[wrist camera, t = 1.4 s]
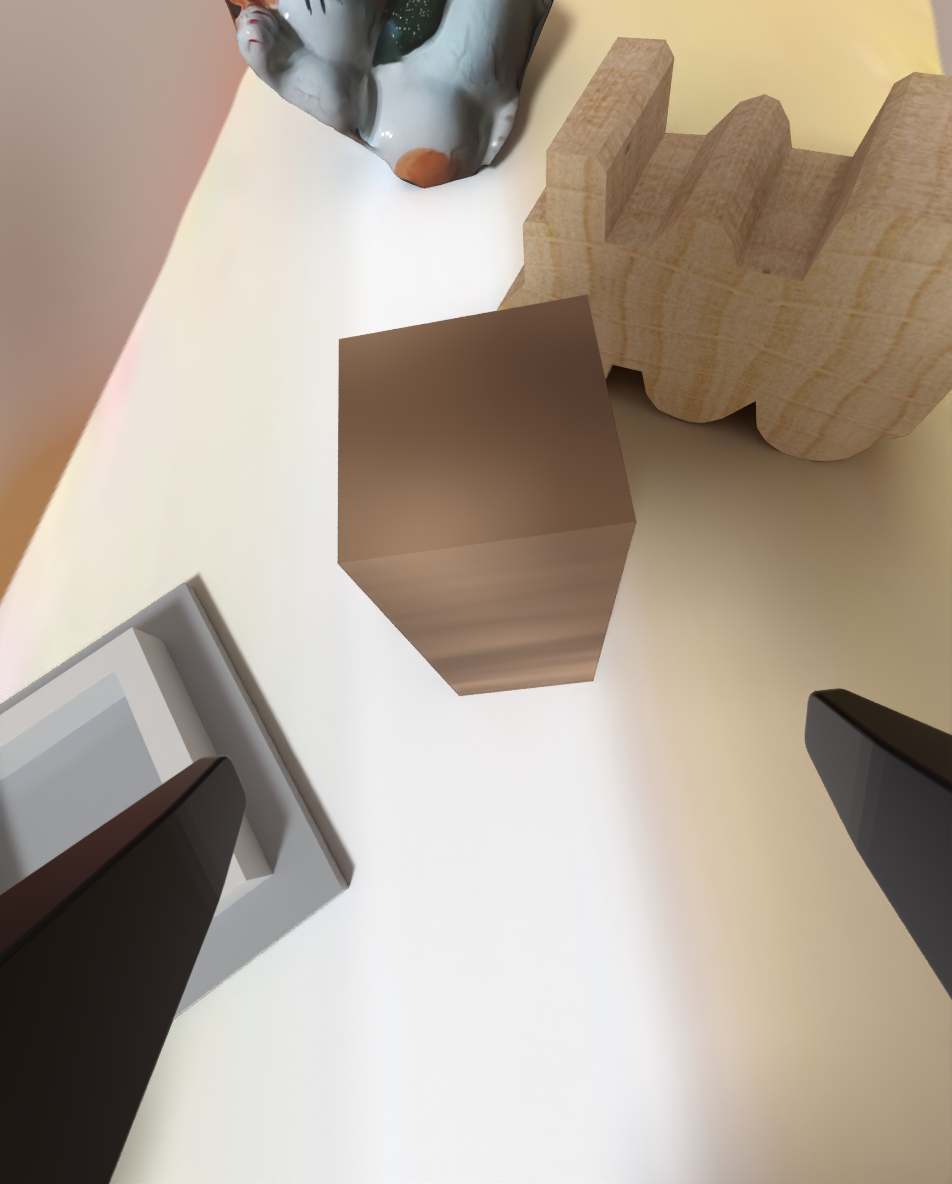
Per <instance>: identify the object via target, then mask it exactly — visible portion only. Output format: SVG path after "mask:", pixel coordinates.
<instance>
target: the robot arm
mask: <svg viewBox="0 0 952 1184" xmlns="http://www.w3.org/2000/svg"><path fill="white" fill-rule="evenodd" d="M805 744H806V748H807V751H808V753H809V755H810V757H811V760H812V762H813V764H814V766H815V768H816V770H817V772H818V774H819V776H820V778H821V780H822V782H823V784H824V786H825V788H826V790H827V792H828V794H829V796H830V798H831V800H832V802H833V804H834V806H835V808H836V810H837V812H838V814H839V816H840V818H841V820H842V822H843V824H844V826H845V828H846V830H847V832H848V834H849V836H850V838H851V840H852V841H853V843H854V845H855V847H856V849H857V851H858V852H859V854H860V856H861V857H862V859H863V861H864V862H865V864H866V866H867V867H868V869H869V870H870V872H871V873H872V875H873V877H874V878H875V880H876V881H877V883H878V884H879V886H880V888H881V889H882V891H883V892H884V894H885V895H886V897H887V899H888V900H889V902H890V903H891V905H892V906H893V908H894V910H895V911H896V913H897V914H898V916H899V917H900V919H901V921H902V922H903V924H904V925H905V927H906V929H907V930H908V932H909V933H910V935H911V936H912V938H913V940H914V941H915V943H916V944H917V946H918V947H919V949H920V951H921V952H922V954H923V955H924V957H925V958H926V960H927V962H928V963H929V965H930V966H931V968H932V969H933V971H934V973H935V974H936V976H937V977H938V979H939V980H940V982H941V984H942V985H943V987H944V988H945V990H946V991H947V993H948V995H949V996H950V998H951V999H952V735H950V734H948V733H946V732H943V731H941V730H939V729H936V728H934V727H932V726H929V725H927V724H925V723H922V722H920V721H918V720H915V719H913V718H910V717H908V716H906V715H903V714H901V713H899V712H896V711H894V710H892V709H889V708H887V707H885V706H882V705H880V704H878V703H875V702H873V701H871V700H868V699H866V698H864V697H861V696H859V695H857V694H854V693H852V692H850V691H847V690H845V689H839V688H838V689H828V690H819V691H814V692H813V693H811V694H810V696H809V699H808V706H807V716H806V727H805ZM246 804H247V797H246V792H245V790H244V787H243V785H242V782H241V780H240V778H239V775H238V773H237V771H236V768H235V766H234V764H233V762H232V760H231V759H230V758H229V757H228V756H226V755H217V756H207V757H202V758H200V759H198V760H197V761H195V762H194V763H192V764H191V765H189V766H188V767H186V768H185V769H184V770H182V771H181V772H179V773H178V774H176V775H175V776H173V777H172V778H170V779H169V780H167V781H166V782H164V783H163V784H162V785H160V786H159V787H157V788H156V789H154V790H153V791H151V792H150V793H148V794H147V795H145V796H144V797H143V798H141V799H140V800H138V801H137V802H135V803H134V804H132V805H131V806H129V807H128V808H126V809H125V810H124V811H122V812H121V813H119V814H118V815H116V816H115V817H113V818H112V819H110V820H109V821H107V822H106V823H105V824H103V825H102V826H100V827H99V828H97V829H96V830H94V831H93V832H91V833H90V834H88V835H87V836H86V837H84V838H83V839H81V840H80V841H78V842H77V843H75V844H74V845H72V846H71V847H69V848H68V849H67V850H65V851H64V852H62V853H61V854H59V855H58V856H56V857H55V858H53V859H52V860H50V861H49V862H48V863H46V864H45V865H43V866H42V867H40V868H39V869H37V870H36V871H34V872H33V873H31V874H30V875H29V876H27V877H26V878H24V879H23V880H21V881H20V882H18V883H17V884H15V885H14V886H12V887H11V888H10V889H8V890H7V891H5V892H4V893H2V894H1V895H0V1184H110V1181H111V1178H112V1176H113V1173H114V1171H115V1168H116V1166H117V1163H118V1161H119V1158H120V1155H121V1153H122V1150H123V1148H124V1145H125V1143H126V1140H127V1137H128V1135H129V1132H130V1130H131V1127H132V1125H133V1122H134V1119H135V1117H136V1114H137V1112H138V1109H139V1107H140V1104H141V1102H142V1099H143V1096H144V1094H145V1091H146V1089H147V1086H148V1084H149V1081H150V1078H151V1076H152V1073H153V1071H154V1068H155V1066H156V1063H157V1061H158V1058H159V1055H160V1053H161V1050H162V1048H163V1045H164V1043H165V1040H166V1037H167V1035H168V1032H169V1030H170V1027H171V1025H172V1022H173V1019H174V1017H175V1014H176V1012H177V1009H178V1007H179V1004H180V1002H181V999H182V996H183V994H184V991H185V989H186V986H187V984H188V981H189V978H190V976H191V973H192V971H193V968H194V966H195V963H196V961H197V958H198V955H199V953H200V950H201V948H202V945H203V943H204V940H205V937H206V935H207V932H208V930H209V927H210V925H211V922H212V919H213V917H214V914H215V911H216V909H217V906H218V903H219V900H220V897H221V894H222V891H223V888H224V885H225V881H226V877H227V874H228V870H229V867H230V863H231V860H232V856H233V853H234V849H235V846H236V842H237V839H238V835H239V831H240V828H241V824H242V821H243V817H244V814H245V810H246Z"/></svg>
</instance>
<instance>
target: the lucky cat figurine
mask: <svg viewBox="0 0 952 1184" xmlns="http://www.w3.org/2000/svg"><path fill="white" fill-rule="evenodd" d="M553 1H554V0H225V2H226V4H227V6H228V8H229V11H230V14H231V16H232V19H233V22H234V25H235V28H236V31H237V41H238V47H239V50H240V54H241V55H242V56H243V58H244V59H245V61H246V62H247V64H248V65H249V66H250V67H251V68H252V69H253V71H254V72H255V73H256V75H257V76H258V77H259V78H260V79H261V80H262V81H264V82H265V83H266V84H267V85H269V86H270V87H271V88H272V89H274V90H275V91H276V92H277V93H278V94H279V95H280V96H281V97H282V98H283V99H285V100H286V101H288V102H289V103H291V104H293V105H295V106H297V107H298V108H300V109H302V110H303V111H305V112H307V113H308V114H310V115H312V116H313V117H315V118H317V119H318V120H319V121H321V122H322V123H324V124H326V125H328V126H331V127H333V128H334V129H335V130H336V131H338V132H340V133H342V134H344V135H346V136H348V137H349V138H351V139H353V140H355V141H356V142H358V143H360V144H361V145H363V146H364V147H366V148H367V149H369V150H371V151H372V152H374V153H375V154H377V155H378V156H379V157H380V158H382V159H383V160H385V161H386V162H387V164H388V165H389V167H390V168H391V170H392V171H393V173H394V174H395V175H396V176H397V177H399V178H400V179H402V180H403V181H406V182H408V183H411V184H413V185H416V186H419V187H422V188H426V187H430V186H436V185H441V184H444V183H448V182H451V181H454V180H459V179H463V178H467V177H470V176H473V175H475V173H476V172H477V171H478V169H479V168H480V167H481V166H482V165H486V164H487V165H490V163H491V162H492V160H493V159H494V157H495V156H496V154H497V153H498V151H499V150H500V148H501V147H502V145H503V144H504V142H505V141H506V139H507V137H508V136H509V134H510V132H511V130H512V128H513V126H514V122H515V115H516V111H518V102H519V93H520V88H521V84H522V81H523V77H524V74H525V70H526V68H527V65H528V63H529V60H530V58H531V55H532V53H533V50H534V48H535V45H536V43H537V40H538V38H539V35H540V33H541V31H542V28H543V26H544V23H545V21H546V18H547V16H548V13H549V11H550V9H551V6H552V4H553Z"/></svg>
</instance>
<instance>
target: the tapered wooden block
mask: <svg viewBox="0 0 952 1184" xmlns="http://www.w3.org/2000/svg"><path fill="white" fill-rule="evenodd" d="M635 524H636V519H635V514H634V510H633V505H632V500H631V496H630V491H629V486H628V482H627V477H626V473H625V468H624V463H623V459H622V454H621V449H620V445H619V440H618V435H617V431H616V426H615V421H614V417H613V412H612V407H611V403H610V398H609V394H608V389H607V384H606V380H605V375H604V370H603V366H602V361H601V356H600V352H599V347H598V342H597V338H596V333H595V328H594V324H593V319H592V315H591V310H590V305H589V301H588V296H587V295H582V296H577V297H571V298H566V299H560V300H554V301H549V302H543V303H538V304H532V305H527V306H521V307H516V308H510V309H504V310H499V311H493V312H488V313H482V314H477V315H471V316H465V317H460V318H454V319H449V320H443V321H438V322H432V323H427V324H421V325H415V326H410V327H404V328H399V329H393V330H388V331H382V332H377V333H371V334H365V335H360V336H354V337H349V338H343V339H339V411H338V564H339V565H340V567H341V568H342V569H343V570H344V571H345V572H346V573H347V574H348V575H349V576H350V577H351V579H352V580H353V581H354V582H355V583H356V584H357V585H358V586H359V587H360V588H361V589H362V591H363V592H364V593H365V594H366V595H367V596H368V597H369V598H370V599H371V600H372V601H373V603H374V604H375V605H376V606H377V607H378V608H379V609H380V610H381V611H382V612H383V613H384V615H385V616H386V617H387V618H388V619H389V620H390V621H391V622H392V623H393V624H394V625H395V627H396V628H397V629H398V630H399V631H400V632H401V633H402V634H403V635H404V636H405V637H406V639H407V640H408V641H409V642H410V643H411V644H412V645H413V646H414V647H415V648H416V649H417V651H418V652H419V653H420V654H421V655H422V656H423V657H424V658H425V659H426V660H427V661H428V663H429V664H430V665H431V666H432V667H433V668H434V669H435V670H436V671H437V672H438V673H439V675H440V676H441V677H442V678H443V679H444V680H445V681H446V682H447V683H448V684H449V685H450V686H451V688H452V689H453V690H454V691H455V692H456V693H457V694H458V695H459V696H464V695H473V694H482V693H491V692H500V691H509V690H517V689H526V688H535V687H544V686H553V685H562V684H570V683H579V682H588V681H593V679H594V676H595V672H596V668H597V664H598V661H599V657H600V653H601V650H602V646H603V642H604V639H605V635H606V631H607V628H608V624H609V620H610V616H611V613H612V609H613V605H614V602H615V598H616V594H617V591H618V587H619V583H620V580H621V576H622V572H623V568H624V565H625V561H626V557H627V554H628V550H629V546H630V543H631V539H632V535H633V532H634V528H635Z"/></svg>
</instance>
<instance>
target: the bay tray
mask: <svg viewBox="0 0 952 1184" xmlns="http://www.w3.org/2000/svg"><path fill="white" fill-rule="evenodd" d="M217 755H226V756H228V757H229V758H230V759H231V760H232V762H233V764H234V766H235V768H236V771H237V773H238V775H239V778H240V780H241V782H242V785H243V787H244V790H245V792H246V797H247V804H246V810H245V814H244V817H243V821H242V824H241V828H240V831H239V835H238V839H237V842H236V846H235V849H234V853H233V856H232V860H231V863H230V867H229V870H228V874H227V877H226V881H225V885H224V888H223V891H222V894H221V897H220V900H219V903H218V906H217V909H216V911H215V914H214V917H213V919H212V922H211V925H210V927H209V930H208V932H207V935H206V937H205V940H204V943H203V945H202V948H201V950H200V953H199V955H198V958H197V961H196V963H195V966H194V968H193V971H192V973H191V976H190V978H189V981H188V984H187V986H186V989H185V991H184V994H183V996H182V999H181V1002H180V1004H179V1007H178V1009H177V1012H176V1014H175V1017H174V1019H175V1018H176V1017H178V1016H179V1015H180V1014H182V1013H183V1012H184V1011H186V1010H187V1009H188V1008H190V1007H191V1006H192V1005H194V1004H195V1003H196V1002H198V1001H199V1000H200V999H202V998H203V997H204V996H206V995H207V994H208V993H210V992H211V991H212V990H214V989H215V988H216V987H218V986H219V985H220V984H222V983H223V982H224V981H226V980H227V979H228V978H230V977H231V976H232V975H234V974H235V973H236V972H238V971H239V970H240V969H242V968H243V967H244V966H246V965H247V964H248V963H250V962H251V961H252V960H253V959H255V958H256V957H257V956H259V955H260V954H261V953H263V952H264V951H265V950H267V949H268V948H269V947H271V946H272V945H273V944H275V943H276V942H277V941H279V940H280V939H281V938H283V937H284V936H285V935H287V934H288V933H289V932H291V931H292V930H293V929H295V928H296V927H297V926H299V925H300V924H301V923H303V922H304V921H305V920H307V919H308V918H309V917H311V916H312V915H313V914H315V913H316V912H317V911H319V910H320V909H321V908H323V907H324V906H325V905H327V904H328V903H329V902H331V901H332V900H333V899H335V898H336V897H337V896H339V895H340V894H341V893H343V892H344V891H345V890H347V889H348V888H349V887H348V885H347V883H346V881H345V879H344V877H343V876H342V874H341V872H340V870H339V868H338V866H337V864H336V862H335V860H334V858H333V856H332V854H331V852H330V851H329V849H328V847H327V845H326V843H325V841H324V839H323V837H322V835H321V833H320V831H319V829H318V827H317V826H316V824H315V822H314V820H313V818H312V816H311V814H310V812H309V810H308V808H307V806H306V804H305V802H304V801H303V799H302V797H301V795H300V793H299V791H298V789H297V787H296V785H295V783H294V781H293V779H292V778H291V776H290V774H289V772H288V770H287V768H286V766H285V764H284V762H283V760H282V758H281V756H280V754H279V753H278V751H277V749H276V747H275V745H274V743H273V741H272V739H271V737H270V735H269V733H268V731H267V729H266V728H265V726H264V724H263V722H262V720H261V718H260V716H259V714H258V712H257V710H256V708H255V706H254V705H253V703H252V701H251V699H250V697H249V695H248V693H247V691H246V689H245V687H244V685H243V683H242V681H241V680H240V678H239V676H238V674H237V672H236V670H235V668H234V666H233V664H232V662H231V660H230V658H229V656H228V655H227V653H226V651H225V649H224V647H223V645H222V643H221V641H220V639H219V637H218V635H217V633H216V631H215V630H214V628H213V626H212V624H211V622H210V620H209V618H208V616H207V614H206V612H205V610H204V608H203V607H202V605H201V603H200V601H199V599H198V597H197V595H196V593H195V591H194V589H193V588H192V587H190V586H189V585H187V584H185V583H183V584H182V585H180V586H179V587H177V588H176V589H174V590H173V591H171V592H170V593H168V594H167V595H165V596H164V597H162V598H161V599H159V600H158V601H156V602H155V603H153V604H152V605H150V606H149V607H147V608H146V609H144V610H143V611H141V612H140V613H138V614H137V615H135V616H134V617H132V618H131V619H129V620H128V621H126V622H124V623H123V624H121V625H120V626H118V627H117V628H115V629H114V630H112V631H111V632H109V633H108V634H106V635H105V636H103V637H102V638H100V639H99V640H97V641H96V642H94V643H93V644H91V645H90V646H88V647H87V648H85V649H84V650H82V651H81V652H79V653H78V654H76V655H75V656H73V657H72V658H70V659H69V660H67V661H66V662H64V663H63V664H61V665H60V666H58V667H57V668H55V669H54V670H52V671H51V672H49V673H48V674H46V675H45V676H43V677H42V678H40V679H39V680H37V681H36V682H34V683H33V684H31V685H30V686H28V687H27V688H25V689H24V690H22V691H21V692H19V693H18V694H16V695H15V696H13V697H12V698H10V699H9V700H7V701H6V702H4V703H3V704H1V705H0V895H1V894H2V893H4V892H5V891H7V890H8V889H10V888H11V887H12V886H14V885H15V884H17V883H18V882H20V881H21V880H23V879H24V878H26V877H27V876H29V875H30V874H31V873H33V872H34V871H36V870H37V869H39V868H40V867H42V866H43V865H45V864H46V863H48V862H49V861H50V860H52V859H53V858H55V857H56V856H58V855H59V854H61V853H62V852H64V851H65V850H67V849H68V848H69V847H71V846H72V845H74V844H75V843H77V842H78V841H80V840H81V839H83V838H84V837H86V836H87V835H88V834H90V833H91V832H93V831H94V830H96V829H97V828H99V827H100V826H102V825H103V824H105V823H106V822H107V821H109V820H110V819H112V818H113V817H115V816H116V815H118V814H119V813H121V812H122V811H124V810H125V809H126V808H128V807H129V806H131V805H132V804H134V803H135V802H137V801H138V800H140V799H141V798H143V797H144V796H145V795H147V794H148V793H150V792H151V791H153V790H154V789H156V788H157V787H159V786H160V785H162V784H163V783H164V782H166V781H167V780H169V779H170V778H172V777H173V776H175V775H176V774H178V773H179V772H181V771H182V770H184V769H185V768H186V767H188V766H189V765H191V764H192V763H194V762H195V761H197V760H198V759H200V758H202V757H207V756H217ZM174 1019H173V1020H174Z"/></svg>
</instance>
